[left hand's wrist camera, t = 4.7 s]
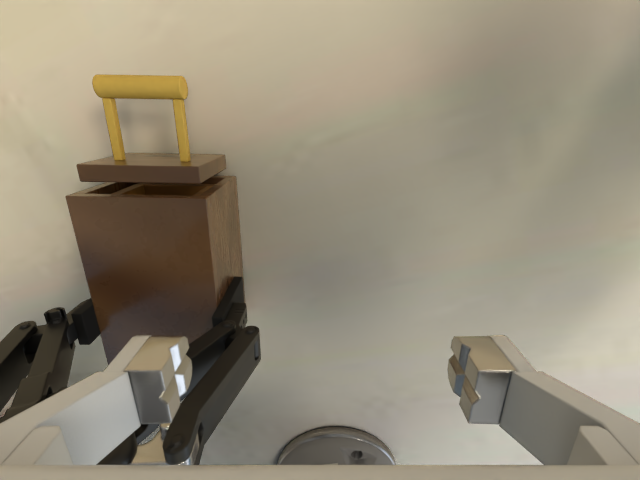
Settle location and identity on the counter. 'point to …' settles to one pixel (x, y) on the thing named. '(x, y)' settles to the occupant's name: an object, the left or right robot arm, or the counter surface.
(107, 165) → the drawer
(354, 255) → the counter surface
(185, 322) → the wooden drawer cabinet
